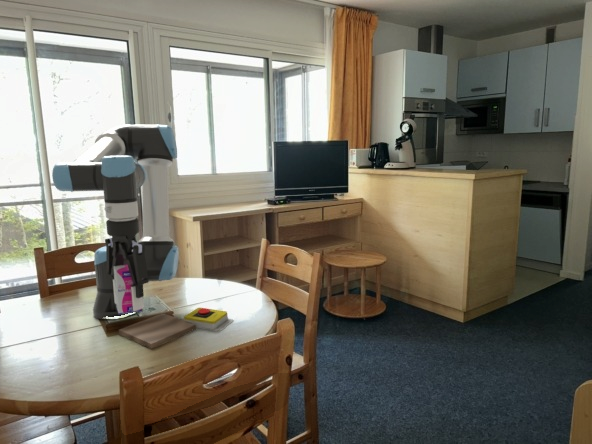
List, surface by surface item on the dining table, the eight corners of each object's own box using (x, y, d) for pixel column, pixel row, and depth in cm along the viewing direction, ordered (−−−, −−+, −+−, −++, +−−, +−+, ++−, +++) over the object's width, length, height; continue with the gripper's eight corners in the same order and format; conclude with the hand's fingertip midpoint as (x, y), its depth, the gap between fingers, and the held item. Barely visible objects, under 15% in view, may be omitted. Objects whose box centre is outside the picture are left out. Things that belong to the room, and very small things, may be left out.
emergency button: (194, 303, 145) (234, 308, 140) (195, 315, 145) (234, 321, 140) (178, 312, 136) (219, 319, 131) (178, 326, 137) (220, 332, 132)
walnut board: (119, 334, 130) (118, 329, 129) (163, 317, 142) (163, 313, 142) (151, 348, 120) (151, 343, 120) (195, 329, 133) (195, 324, 133)
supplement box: (118, 316, 108) (114, 271, 105) (116, 308, 113) (112, 265, 111) (143, 311, 110) (139, 268, 108) (139, 304, 115) (136, 262, 113)
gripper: (86, 216, 110) (94, 301, 114) (132, 225, 98) (139, 319, 102) (113, 212, 116) (120, 293, 120) (160, 220, 104) (166, 309, 108)
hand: (129, 305), depth 111 cm, fingers closed on supplement box, 7 cm apart
